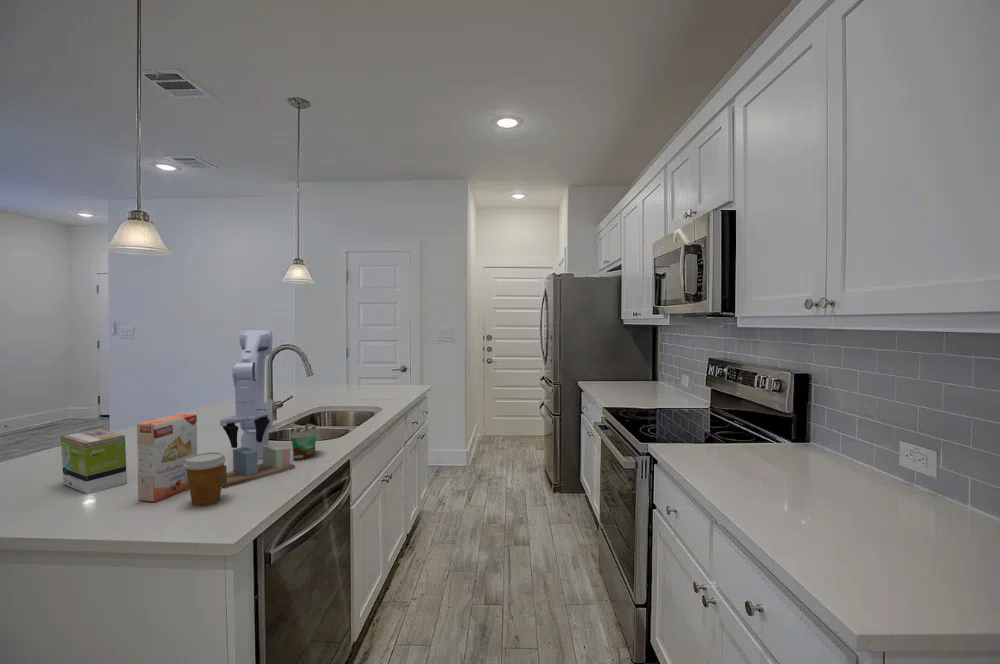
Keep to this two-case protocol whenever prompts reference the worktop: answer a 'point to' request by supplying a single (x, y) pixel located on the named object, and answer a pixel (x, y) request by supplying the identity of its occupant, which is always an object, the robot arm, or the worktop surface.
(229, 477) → the shelf
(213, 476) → the disposable coffee cup
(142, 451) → the cracker box
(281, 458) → the book row
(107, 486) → the tea box
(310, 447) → the food container
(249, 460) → the grey rectangular block
